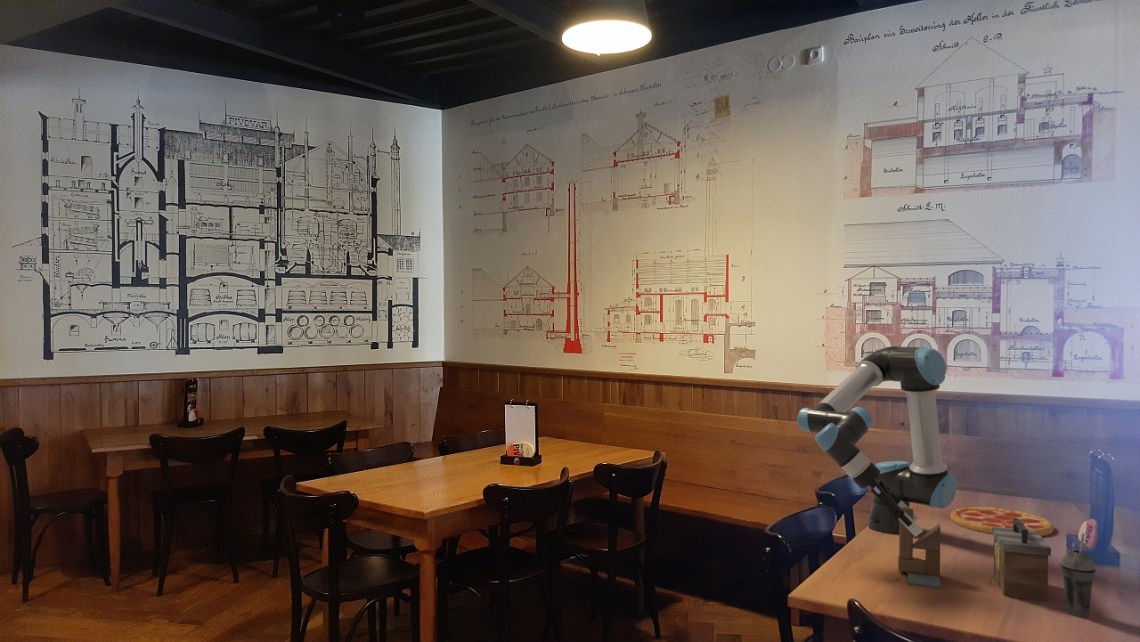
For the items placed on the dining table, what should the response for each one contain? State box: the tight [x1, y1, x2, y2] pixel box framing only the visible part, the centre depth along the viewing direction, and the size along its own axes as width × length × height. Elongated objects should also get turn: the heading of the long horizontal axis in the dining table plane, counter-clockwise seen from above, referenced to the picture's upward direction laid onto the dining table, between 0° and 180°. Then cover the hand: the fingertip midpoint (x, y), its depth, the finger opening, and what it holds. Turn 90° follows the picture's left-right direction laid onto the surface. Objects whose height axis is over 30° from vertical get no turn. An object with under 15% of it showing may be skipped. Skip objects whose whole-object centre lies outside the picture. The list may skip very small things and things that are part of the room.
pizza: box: [950, 506, 1055, 538], centre depth 273 cm, size 32×32×3 cm
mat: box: [906, 572, 943, 589], centre depth 217 cm, size 16×8×1 cm, turn 160°
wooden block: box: [897, 507, 941, 577], centre depth 219 cm, size 4×11×18 cm, turn 69°
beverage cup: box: [1060, 533, 1096, 618], centre depth 191 cm, size 7×7×20 cm
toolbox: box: [991, 518, 1052, 602], centre depth 209 cm, size 17×11×18 cm, turn 160°
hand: (917, 527), depth 217 cm, fingers open, 13 cm apart
